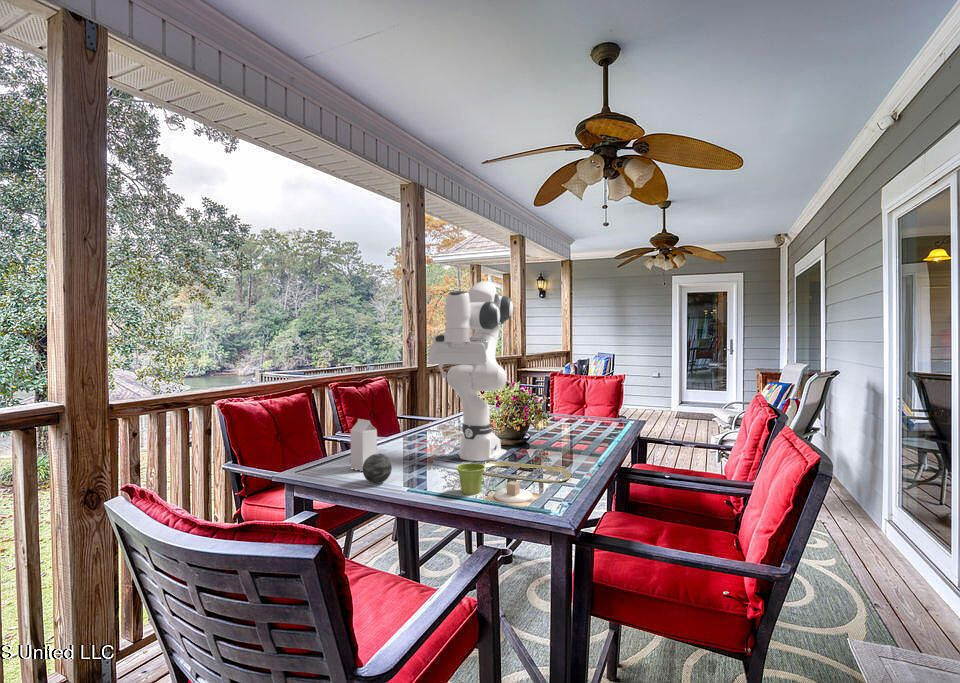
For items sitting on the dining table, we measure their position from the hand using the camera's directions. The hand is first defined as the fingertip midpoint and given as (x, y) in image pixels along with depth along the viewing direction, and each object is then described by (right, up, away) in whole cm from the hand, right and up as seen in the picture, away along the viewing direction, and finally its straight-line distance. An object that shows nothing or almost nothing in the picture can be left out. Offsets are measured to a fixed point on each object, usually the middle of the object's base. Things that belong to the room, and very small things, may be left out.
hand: (457, 377), depth 168 cm
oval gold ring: (+24, -37, +12) cm, 46 cm away
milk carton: (-37, -37, +19) cm, 56 cm away
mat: (+18, -37, -15) cm, 44 cm away
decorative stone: (-28, -37, +1) cm, 47 cm away
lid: (+18, -36, -15) cm, 44 cm away
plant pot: (+5, -37, -10) cm, 39 cm away
